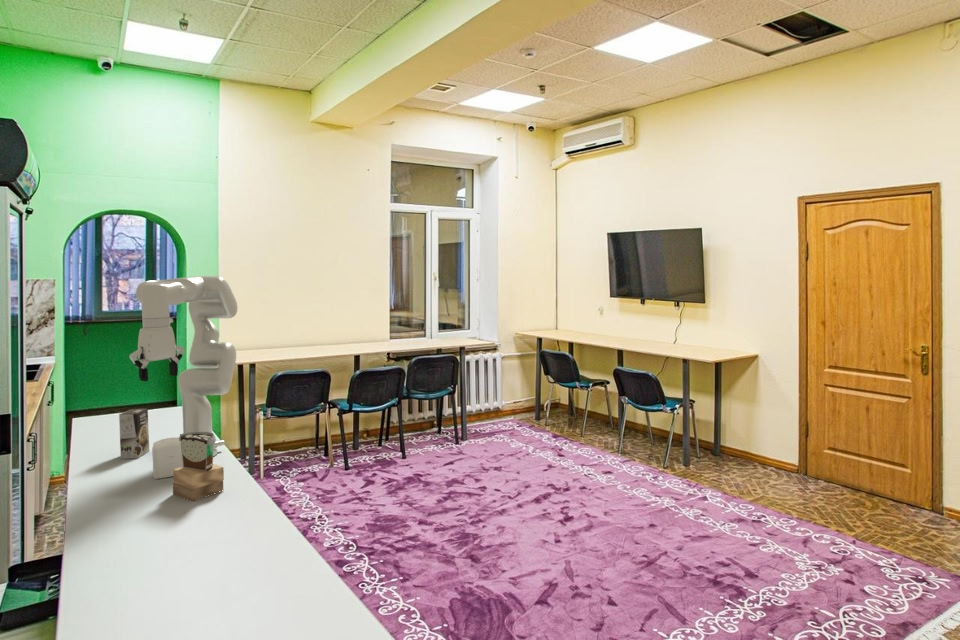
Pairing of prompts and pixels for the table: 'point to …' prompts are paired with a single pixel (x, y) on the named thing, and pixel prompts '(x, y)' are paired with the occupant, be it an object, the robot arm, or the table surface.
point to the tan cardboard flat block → (197, 490)
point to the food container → (197, 450)
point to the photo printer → (166, 457)
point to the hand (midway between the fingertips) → (159, 378)
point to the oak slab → (197, 476)
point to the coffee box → (134, 433)
